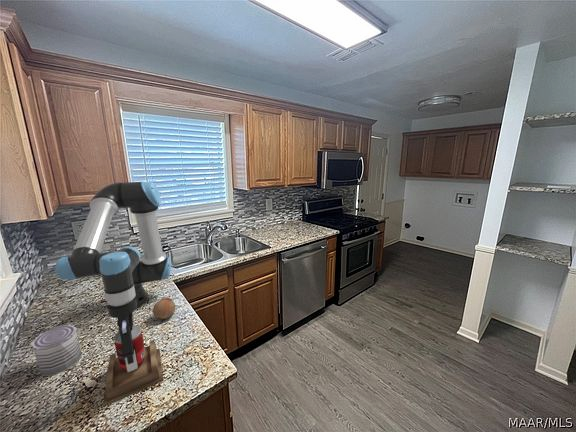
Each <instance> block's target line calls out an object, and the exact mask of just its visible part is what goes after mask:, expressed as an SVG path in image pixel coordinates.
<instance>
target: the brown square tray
mask: <svg viewBox="0 0 576 432" xmlns="http://www.w3.org/2000/svg"><path fill="white" fill-rule="evenodd" d="M144 347H145V353H146V355H145V359H144V361H143V362H142V363H141V364H140V365H139V366H137V367H138V368H137V369H135V370H132V371H130V372H127V370H123V369H121V368H120V366H119V363H118V358H117V353H116V352H114V353H111V354H109V357H108V358H109V359H108V366H107V372H106V378H105V385H104V386H105V390H104V395H103V396H104V397H103V403H102V407H103V408H105V407H106V406H108V405H111V404H113V403H115V402H118V401H120V400H122V399H125V398H127V397H129V396H131V395H133V394H136V393H138V392H140V391H143V390H145V389H147V388H149V387H151V386H154V385H157V384H159V383H160V382H163V381H164V375H163V367H162V365H163V364H162V357H161V351H160V350H161V349H160V348H157V344H156V343H155V339H151V340H149V345H148V346H144Z"/></svg>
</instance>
